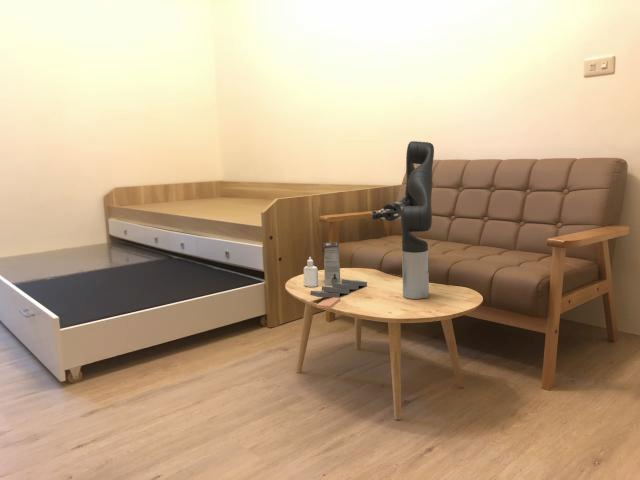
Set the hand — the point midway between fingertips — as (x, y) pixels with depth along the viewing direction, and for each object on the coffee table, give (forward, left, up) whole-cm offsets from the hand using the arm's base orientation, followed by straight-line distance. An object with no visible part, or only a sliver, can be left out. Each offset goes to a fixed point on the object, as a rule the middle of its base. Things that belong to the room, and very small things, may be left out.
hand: (374, 216), depth 218 cm
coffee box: (+18, +5, -26) cm, 32 cm away
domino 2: (+14, +26, -25) cm, 39 cm away
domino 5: (+5, +10, -25) cm, 28 cm away
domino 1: (+11, +21, -25) cm, 35 cm away
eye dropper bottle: (+26, +11, -26) cm, 38 cm away
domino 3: (+14, +30, -26) cm, 42 cm away
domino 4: (+8, +15, -25) cm, 31 cm away
